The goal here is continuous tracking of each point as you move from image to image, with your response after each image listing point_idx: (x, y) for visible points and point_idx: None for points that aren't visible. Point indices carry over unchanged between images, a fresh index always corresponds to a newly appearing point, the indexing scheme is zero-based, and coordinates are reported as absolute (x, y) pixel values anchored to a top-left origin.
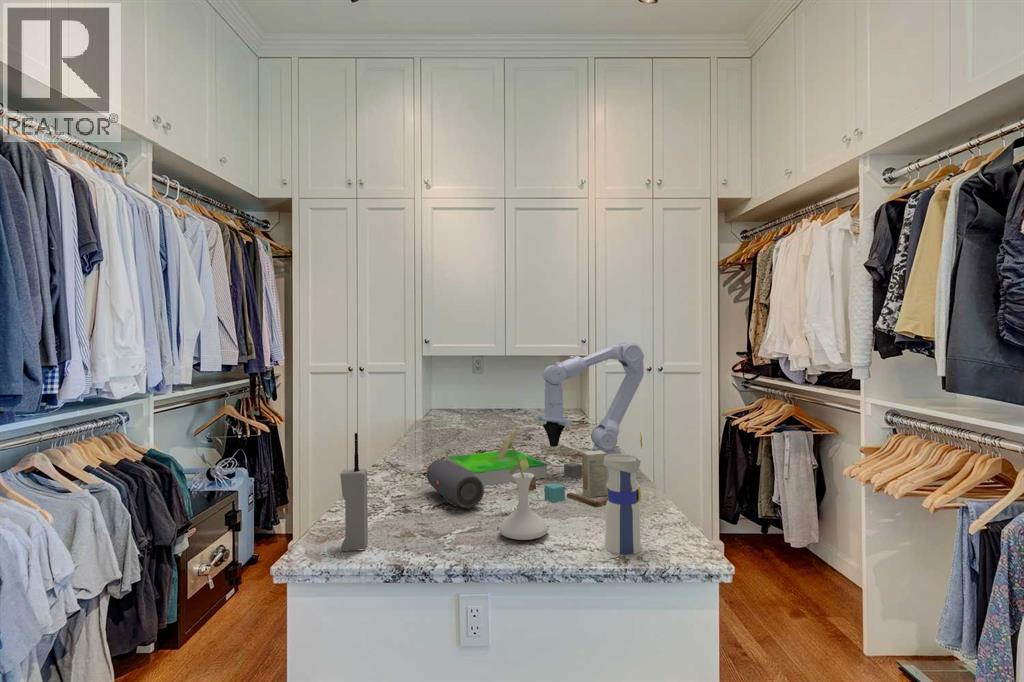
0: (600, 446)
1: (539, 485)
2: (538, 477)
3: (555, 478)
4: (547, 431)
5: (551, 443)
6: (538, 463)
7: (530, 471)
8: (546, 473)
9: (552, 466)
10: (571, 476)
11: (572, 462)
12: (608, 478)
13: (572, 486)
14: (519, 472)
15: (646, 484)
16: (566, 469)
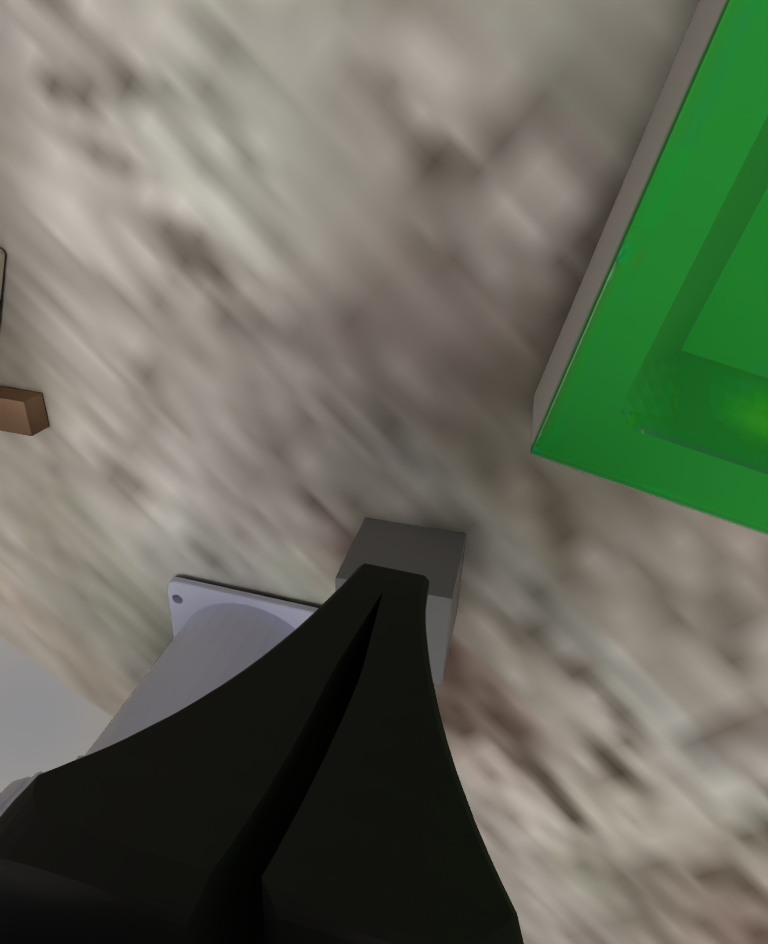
0: (12, 788)
1: (394, 134)
2: (572, 311)
3: (467, 436)
4: (376, 766)
5: (362, 588)
6: (651, 428)
7: (622, 222)
8: (535, 408)
9: (764, 707)
10: (376, 528)
11: (440, 678)
12: (180, 623)
13: (197, 345)
14: (704, 34)
15: (29, 656)
16: (427, 566)
